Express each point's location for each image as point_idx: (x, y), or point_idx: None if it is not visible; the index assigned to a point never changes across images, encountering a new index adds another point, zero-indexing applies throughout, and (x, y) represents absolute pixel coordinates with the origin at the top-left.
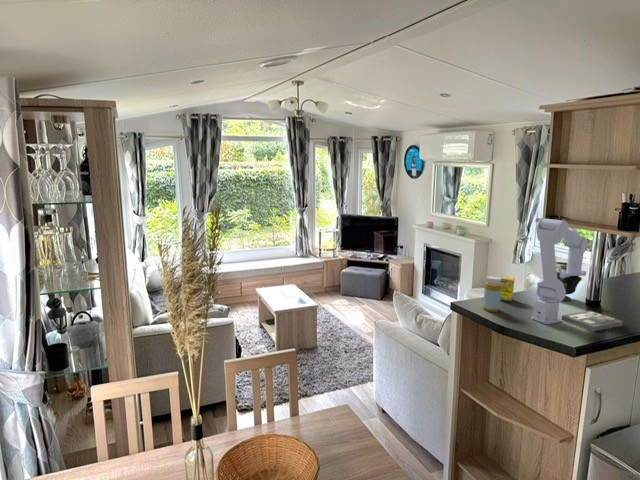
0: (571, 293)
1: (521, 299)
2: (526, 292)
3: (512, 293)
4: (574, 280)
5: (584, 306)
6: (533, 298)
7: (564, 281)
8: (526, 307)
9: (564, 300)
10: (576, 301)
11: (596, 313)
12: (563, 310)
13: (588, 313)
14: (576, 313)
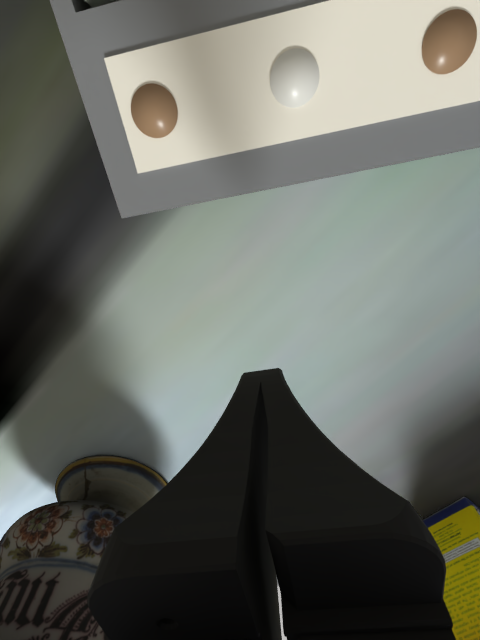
0: (60, 501)
1: None
2: None
3: (477, 555)
4: (398, 503)
5: (51, 374)
6: None
7: (81, 617)
8: (464, 417)
9: (124, 464)
10: (45, 450)
11: (127, 121)
12: (263, 333)
13: (208, 137)
14: (315, 171)
